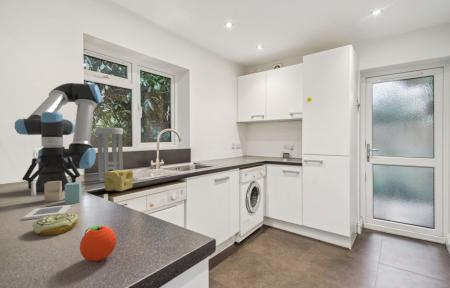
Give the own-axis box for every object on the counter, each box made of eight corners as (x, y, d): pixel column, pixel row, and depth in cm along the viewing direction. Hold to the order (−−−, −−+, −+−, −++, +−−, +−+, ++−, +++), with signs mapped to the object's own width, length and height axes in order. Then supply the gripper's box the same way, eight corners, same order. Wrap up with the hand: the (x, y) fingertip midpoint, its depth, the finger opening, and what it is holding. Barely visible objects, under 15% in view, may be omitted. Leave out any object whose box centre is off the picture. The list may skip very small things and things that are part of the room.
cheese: (121, 191, 112) (121, 172, 112) (103, 190, 114) (103, 172, 114) (133, 187, 122) (133, 169, 122) (117, 186, 125) (116, 169, 124)
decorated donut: (29, 241, 57) (29, 227, 56) (36, 228, 65) (35, 215, 65) (78, 231, 62) (77, 218, 62) (77, 220, 71) (77, 209, 71)
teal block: (68, 201, 94) (67, 183, 94) (81, 199, 96) (81, 182, 96) (65, 204, 90) (64, 185, 90) (79, 202, 92) (79, 184, 92)
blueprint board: (35, 210, 82) (35, 208, 81) (70, 206, 86) (70, 204, 86) (22, 220, 71) (22, 217, 71) (63, 215, 76) (63, 212, 76)
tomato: (68, 263, 46) (67, 229, 46) (98, 248, 52) (97, 218, 52) (95, 271, 43) (95, 235, 43) (123, 254, 49) (123, 222, 49)
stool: (127, 180, 146) (126, 128, 145) (102, 183, 134) (101, 127, 134) (117, 177, 156) (116, 129, 155) (93, 180, 144) (92, 128, 144)
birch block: (48, 199, 98) (48, 181, 98) (61, 198, 100) (61, 180, 100) (44, 202, 93) (44, 183, 93) (58, 200, 95) (58, 182, 95)
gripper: (11, 147, 88) (12, 199, 88) (83, 146, 98) (84, 193, 98) (19, 147, 95) (20, 195, 95) (86, 146, 105) (87, 190, 105)
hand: (53, 194), depth 96 cm, fingers open, 13 cm apart
